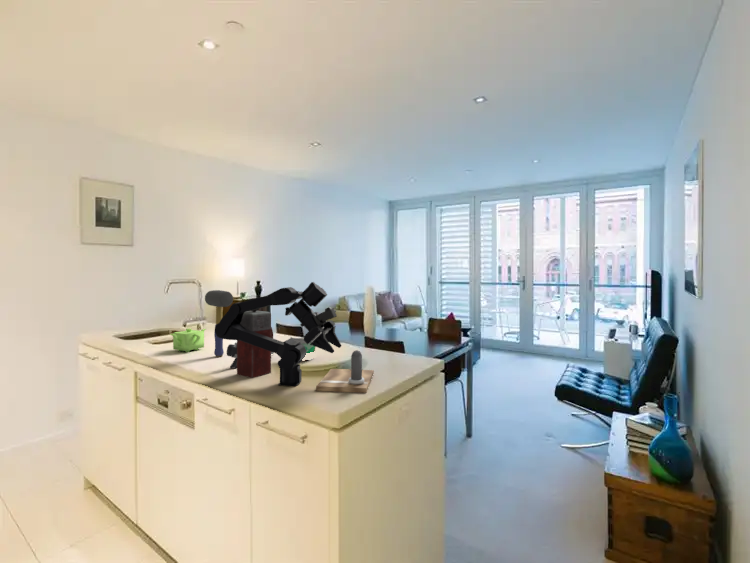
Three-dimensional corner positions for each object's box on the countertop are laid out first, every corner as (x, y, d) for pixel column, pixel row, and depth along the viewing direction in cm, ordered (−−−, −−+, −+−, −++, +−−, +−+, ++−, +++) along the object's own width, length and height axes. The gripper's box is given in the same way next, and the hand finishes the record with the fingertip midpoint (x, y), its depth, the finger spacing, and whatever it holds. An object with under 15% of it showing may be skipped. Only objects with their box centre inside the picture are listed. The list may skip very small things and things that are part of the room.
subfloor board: (316, 390, 127) (316, 385, 127) (331, 372, 150) (331, 368, 150) (366, 392, 125) (366, 387, 125) (373, 374, 148) (373, 369, 148)
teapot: (169, 354, 180) (169, 331, 180) (172, 349, 192) (172, 327, 192) (205, 352, 186) (205, 329, 185) (206, 347, 198) (206, 326, 198)
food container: (290, 362, 166) (290, 339, 165) (289, 359, 171) (289, 336, 171) (319, 361, 169) (319, 338, 169) (317, 358, 175) (317, 335, 175)
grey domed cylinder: (345, 382, 130) (345, 350, 130) (354, 379, 135) (354, 348, 134) (358, 385, 127) (358, 352, 127) (367, 381, 132) (367, 350, 132)
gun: (222, 367, 152) (226, 341, 153) (267, 368, 173) (271, 345, 175) (226, 368, 150) (231, 342, 152) (272, 369, 172) (275, 346, 174)
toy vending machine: (275, 371, 151) (276, 299, 150) (252, 377, 141) (252, 300, 141) (260, 368, 156) (260, 298, 155) (236, 374, 146) (236, 299, 146)
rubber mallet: (234, 356, 176) (234, 290, 175) (219, 359, 169) (219, 291, 169) (218, 353, 183) (218, 289, 182) (203, 356, 177) (203, 290, 176)
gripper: (313, 301, 123) (347, 338, 122) (330, 298, 142) (359, 329, 140) (289, 325, 125) (322, 361, 123) (309, 319, 143) (338, 350, 142)
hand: (337, 349), depth 132 cm, fingers open, 9 cm apart
